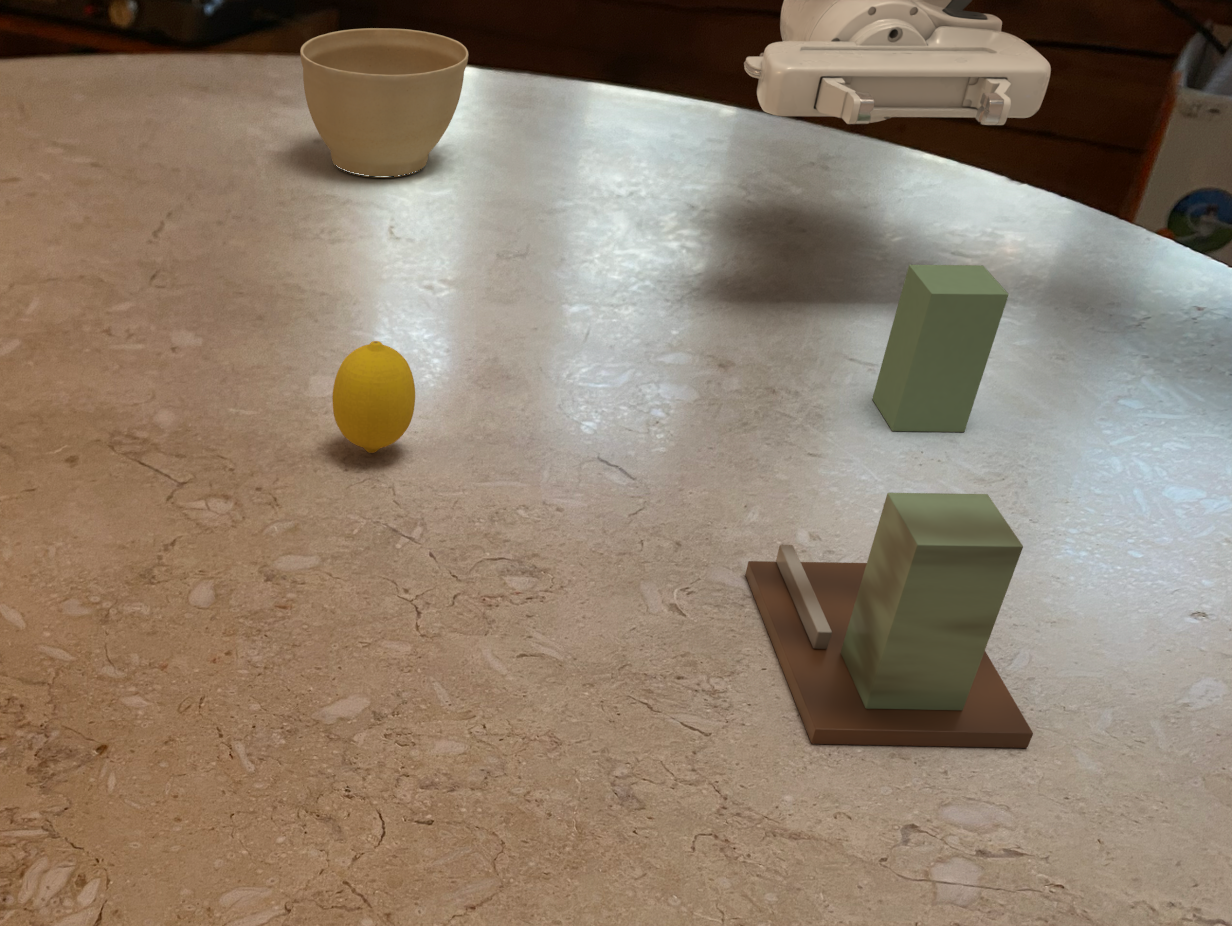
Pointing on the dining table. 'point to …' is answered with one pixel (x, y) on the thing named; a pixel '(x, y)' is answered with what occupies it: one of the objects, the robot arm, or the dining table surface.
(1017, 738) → the mount board
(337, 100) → the planter bowl
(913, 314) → the back pad
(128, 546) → the dining table surface
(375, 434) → the lemon
